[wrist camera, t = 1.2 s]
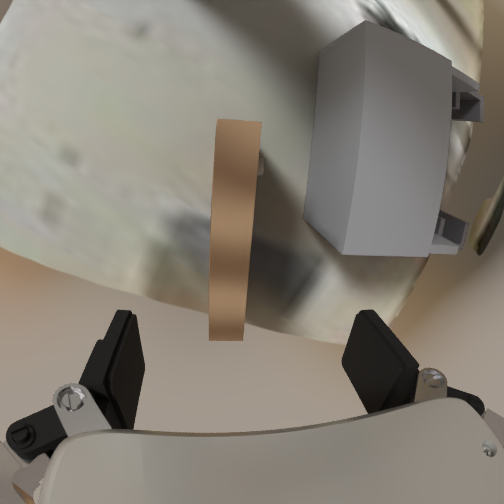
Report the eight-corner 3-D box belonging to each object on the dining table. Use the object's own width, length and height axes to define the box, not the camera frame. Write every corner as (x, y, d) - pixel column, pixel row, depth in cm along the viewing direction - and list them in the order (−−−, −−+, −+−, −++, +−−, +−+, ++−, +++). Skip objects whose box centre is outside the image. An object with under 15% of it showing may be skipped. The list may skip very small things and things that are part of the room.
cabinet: (319, 46, 25) (365, 12, 15) (454, 97, 28) (510, 97, 18) (302, 225, 33) (340, 263, 23) (436, 235, 36) (486, 264, 26)
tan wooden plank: (216, 127, 28) (217, 118, 18) (255, 129, 28) (278, 124, 18) (208, 282, 34) (209, 340, 24) (243, 283, 35) (256, 340, 25)
